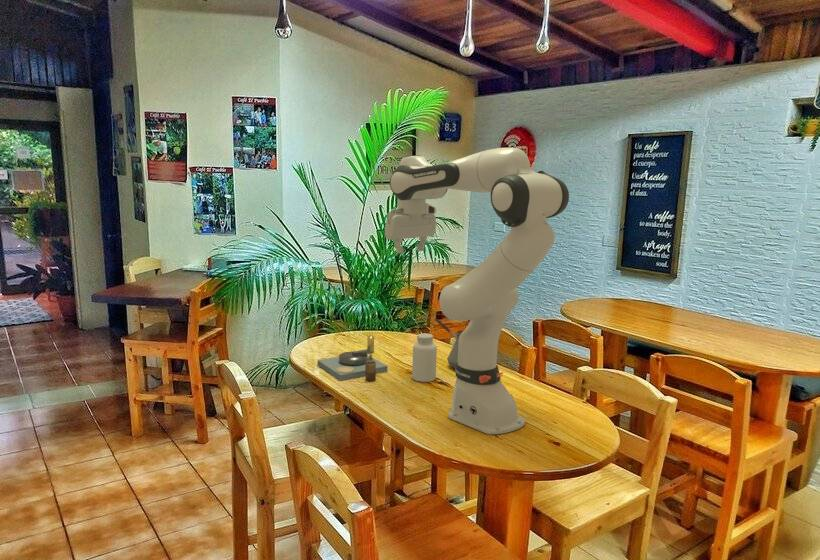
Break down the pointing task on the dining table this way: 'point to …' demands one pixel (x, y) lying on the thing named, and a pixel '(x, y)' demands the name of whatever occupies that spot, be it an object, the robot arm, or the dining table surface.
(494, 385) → the robot arm
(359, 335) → the dining table surface
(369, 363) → the brown bottle
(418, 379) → the pill bottle
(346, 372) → the board
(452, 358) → the coffee pot
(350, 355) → the dial
